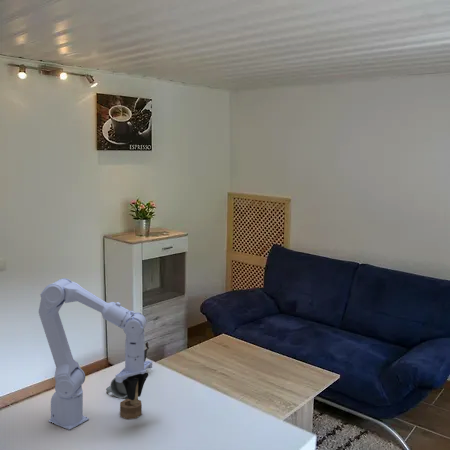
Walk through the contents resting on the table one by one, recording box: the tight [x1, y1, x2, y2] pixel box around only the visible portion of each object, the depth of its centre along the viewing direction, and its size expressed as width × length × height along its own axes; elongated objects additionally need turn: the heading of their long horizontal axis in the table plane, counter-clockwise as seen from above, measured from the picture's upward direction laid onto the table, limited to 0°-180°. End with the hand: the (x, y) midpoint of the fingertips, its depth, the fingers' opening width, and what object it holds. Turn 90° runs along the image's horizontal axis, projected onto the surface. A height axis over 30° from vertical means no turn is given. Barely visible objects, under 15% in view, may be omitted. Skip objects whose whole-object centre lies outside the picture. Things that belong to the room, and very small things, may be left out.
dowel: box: [131, 378, 139, 405], centre depth 147 cm, size 2×2×8 cm
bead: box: [119, 398, 143, 420], centre depth 155 cm, size 7×7×4 cm
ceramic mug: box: [105, 376, 128, 399], centre depth 170 cm, size 11×8×8 cm
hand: (134, 397), depth 147 cm, fingers closed on dowel, 2 cm apart
